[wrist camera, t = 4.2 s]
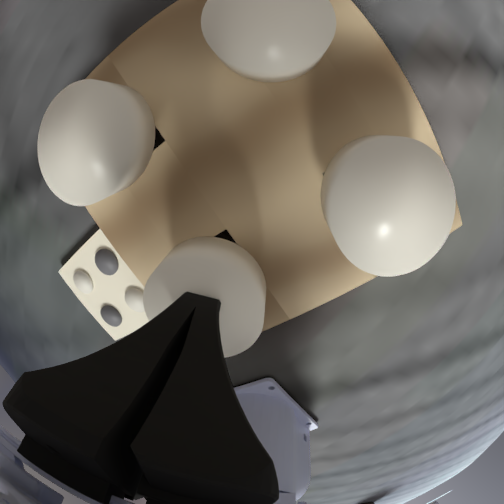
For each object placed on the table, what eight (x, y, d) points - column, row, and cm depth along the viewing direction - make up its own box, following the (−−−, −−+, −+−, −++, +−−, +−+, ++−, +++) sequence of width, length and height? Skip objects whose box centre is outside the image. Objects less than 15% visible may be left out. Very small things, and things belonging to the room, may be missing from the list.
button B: (285, 281, 14) (287, 334, 10) (211, 317, 15) (193, 369, 12) (232, 202, 12) (212, 232, 9) (157, 251, 14) (121, 292, 10)
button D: (192, 144, 11) (156, 151, 8) (121, 202, 13) (74, 229, 9) (140, 69, 10) (92, 53, 6) (78, 133, 11) (24, 141, 8)
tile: (177, 305, 17) (174, 312, 17) (118, 335, 19) (114, 342, 19) (111, 219, 15) (104, 223, 14) (62, 268, 17) (56, 272, 16)
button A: (422, 207, 11) (466, 237, 8) (342, 252, 13) (363, 298, 9) (383, 117, 10) (427, 114, 6) (293, 165, 11) (301, 180, 8)
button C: (338, 63, 10) (362, 40, 7) (255, 107, 12) (247, 96, 8) (284, -4, 9) (285, -43, 5) (204, 38, 10) (177, 9, 7)
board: (444, 213, 13) (462, 225, 11) (211, 334, 18) (204, 354, 16) (293, -36, 8) (295, -54, 6) (63, 130, 13) (42, 132, 11)
